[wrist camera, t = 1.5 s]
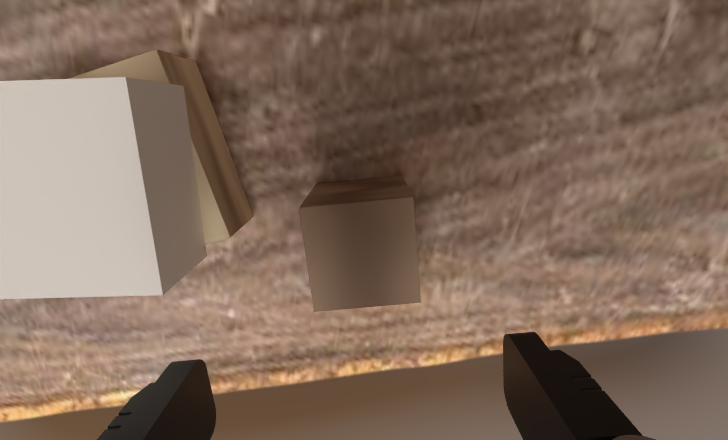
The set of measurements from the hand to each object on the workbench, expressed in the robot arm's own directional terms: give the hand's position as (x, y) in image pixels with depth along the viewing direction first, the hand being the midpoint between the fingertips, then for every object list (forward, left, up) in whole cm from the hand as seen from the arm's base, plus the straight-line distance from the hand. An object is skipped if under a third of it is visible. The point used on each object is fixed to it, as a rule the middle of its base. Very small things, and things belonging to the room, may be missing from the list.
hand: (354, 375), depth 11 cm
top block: (+13, -5, -12) cm, 18 cm away
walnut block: (0, 0, -17) cm, 17 cm away
